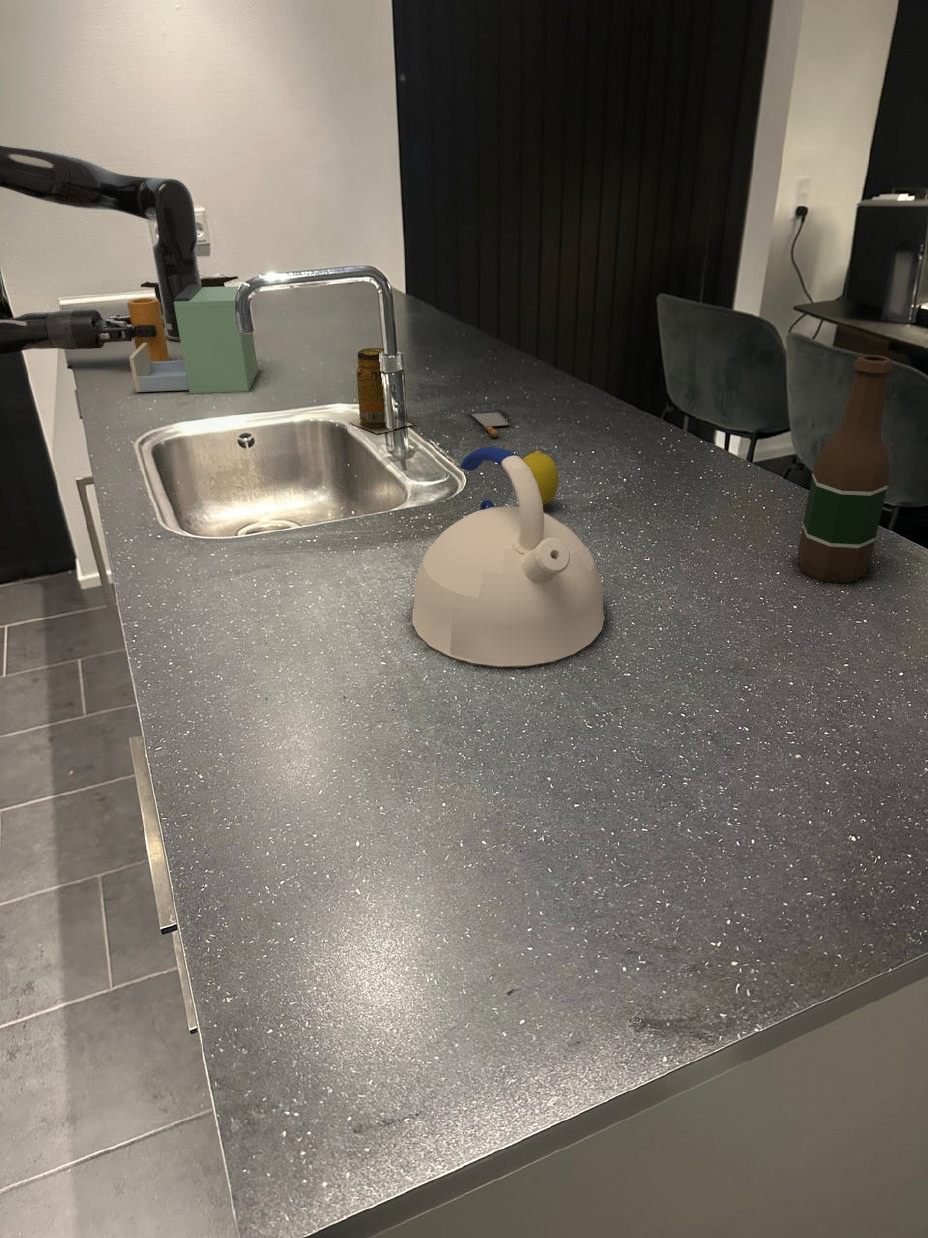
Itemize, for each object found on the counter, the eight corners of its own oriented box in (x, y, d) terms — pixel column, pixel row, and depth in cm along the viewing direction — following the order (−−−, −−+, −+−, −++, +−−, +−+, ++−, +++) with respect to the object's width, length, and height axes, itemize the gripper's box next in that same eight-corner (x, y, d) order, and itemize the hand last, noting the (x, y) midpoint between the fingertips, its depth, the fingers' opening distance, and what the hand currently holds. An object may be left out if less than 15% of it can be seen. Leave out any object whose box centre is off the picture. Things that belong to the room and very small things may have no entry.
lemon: (529, 520, 117) (530, 461, 113) (508, 505, 121) (508, 448, 117) (565, 511, 119) (567, 453, 115) (543, 497, 123) (544, 441, 119)
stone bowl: (192, 321, 222) (183, 281, 218) (127, 318, 235) (117, 281, 231) (262, 301, 240) (255, 264, 235) (198, 300, 253) (190, 265, 248)
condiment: (383, 414, 156) (379, 343, 150) (412, 425, 151) (409, 352, 144) (348, 423, 152) (342, 351, 146) (376, 435, 147) (371, 361, 141)
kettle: (458, 691, 84) (454, 512, 75) (385, 594, 100) (373, 437, 91) (644, 642, 90) (660, 472, 81) (546, 558, 107) (551, 409, 98)
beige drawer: (149, 375, 180) (143, 342, 176) (204, 373, 180) (199, 340, 177) (135, 392, 170) (128, 357, 167) (194, 389, 170) (188, 354, 167)
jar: (143, 362, 189) (131, 298, 183) (172, 361, 190) (161, 297, 183) (136, 370, 184) (123, 304, 177) (166, 369, 184) (154, 303, 178)
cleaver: (498, 415, 156) (470, 417, 155) (498, 408, 156) (470, 410, 155) (520, 436, 145) (490, 439, 144) (520, 428, 144) (490, 431, 143)
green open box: (202, 373, 181) (188, 284, 173) (258, 371, 182) (246, 282, 173) (189, 393, 169) (173, 298, 161) (248, 391, 170) (235, 296, 161)
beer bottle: (859, 591, 99) (909, 371, 87) (787, 574, 102) (825, 361, 90) (873, 563, 104) (922, 353, 92) (804, 548, 108) (843, 344, 96)
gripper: (60, 318, 174) (148, 315, 175) (82, 302, 186) (164, 300, 187) (69, 357, 178) (155, 354, 179) (90, 339, 190) (171, 337, 191)
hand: (159, 326), depth 183 cm, fingers closed on jar, 6 cm apart
